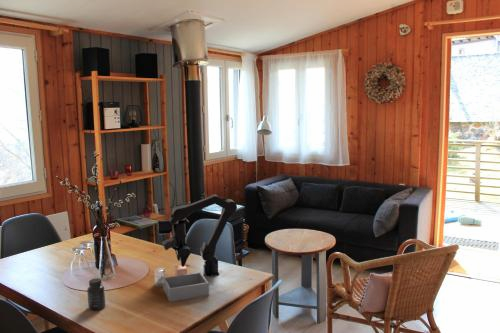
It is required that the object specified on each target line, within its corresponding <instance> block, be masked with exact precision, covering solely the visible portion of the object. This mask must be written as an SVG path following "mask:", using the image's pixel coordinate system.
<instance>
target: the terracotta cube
mask: <svg viewBox="0 0 500 333" xmlns="http://www.w3.org/2000/svg"><path fill="white" fill-rule="evenodd" d="M185 274H188V268H187V266H186V265H185V266H184V267H182V265H181V264H180V265H175V266H174V276H179V275H185Z"/></svg>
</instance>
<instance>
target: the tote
mask: <svg viewBox="0 0 500 333" xmlns="http://www.w3.org/2000/svg"><path fill="white" fill-rule="evenodd" d="M162 287H163V291H164V294H165V296H166V298H167V300H168V302H169V303H172V302H177V301H178V302H179V301H184V300H189V299H190V300H191V299H196V298H202V297H208V296H210V283H209V282H208V280H207V279H206V277H205V276H204V274H203V273H202V272H201V271H199V272H193V273H187V274H185V275H179V276H175V275H174V276H166V277H165V278H163V286H162Z"/></svg>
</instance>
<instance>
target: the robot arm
mask: <svg viewBox="0 0 500 333" xmlns="http://www.w3.org/2000/svg"><path fill="white" fill-rule="evenodd" d="M214 205H217V206H219V207H221V211H220V216H219V218H218V219H217V222H216V225H215V227H214V228H213V230H212V232H211V235H210V236H209V239H208V240H207V241H203V242H202V245H201V247H200V249H199V250H200V252H199V253H200V255H201V258H202V259H203V261H204V264H203V275H205V276H206V277H213V276H219V275H220V273H219V258H218V257H217V255H216V248H217V244H218V242H219V240H220V238H221V236H222V234H223V232H224V229H225V228H226V225H227V223H228V222H229V219H231V217H232V216H234V214H235V213H236V211H237V210H238V205H237V204H236V202H235V201H234V200H233V199H230V198H227V199H226V198H224V197H222V196H219V195H216V194H212V195H209V196H208V197H204V198H203V199H199V200H197V201H195V202H192V203H190V204H181V205H178V206H175V207H173V209H172V213H171V215H170V216H169V218H168V219H158V220H157V234H158V236H159V235H168V234H169V235H170V234H171V233H172V232H173V233H172V237H170V238H168V239H166V240H163V241H162V242H161V244H162V246H163V248H164V250H165V251H168V250H169V249H172V250H174V252H175V256H176V259H177V261H178V262H180V265H182V267H184V266H186V263H187V260H188V259H189V257H190V255H191V253H192V252H191V251H192V250H191V248H190V247H188V243H187V238H188V236H187V233H186V225H187V224H190V221H189V220H188V219H187V218H188V217H189V216H191V214H193V213H196V212H198V211H200V210H203V209H206V208H208V207H211V206H214Z"/></svg>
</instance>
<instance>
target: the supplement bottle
mask: <svg viewBox="0 0 500 333" xmlns="http://www.w3.org/2000/svg"><path fill="white" fill-rule="evenodd" d="M86 291H87V292H86V294H87V306H88V309H89V310H90V311H91V312H93V311H95V312H97V311H101V310H103V309H104V308H105V307H106V296H105V295H106V294H105V293H106V292H105V286H104V285H103V284H102V278H98V277H97V278H96V277H95V278H91V279H90V280H89V281H88V287H87V290H86Z"/></svg>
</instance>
